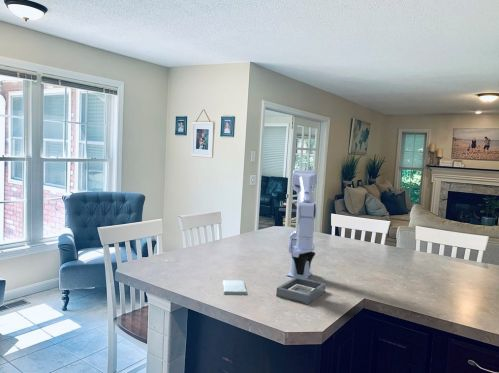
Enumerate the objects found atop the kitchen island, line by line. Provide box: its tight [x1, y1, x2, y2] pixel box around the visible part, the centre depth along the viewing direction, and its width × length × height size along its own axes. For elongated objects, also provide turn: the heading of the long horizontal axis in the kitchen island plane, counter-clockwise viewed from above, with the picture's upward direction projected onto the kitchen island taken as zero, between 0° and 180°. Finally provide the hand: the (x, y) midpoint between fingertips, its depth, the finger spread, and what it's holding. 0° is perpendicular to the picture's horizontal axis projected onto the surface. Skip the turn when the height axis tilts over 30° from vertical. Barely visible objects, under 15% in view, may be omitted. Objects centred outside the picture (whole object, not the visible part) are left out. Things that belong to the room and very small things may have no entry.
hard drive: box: [222, 279, 248, 295], centre depth 142 cm, size 2×8×12 cm
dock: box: [275, 277, 327, 305], centre depth 140 cm, size 16×12×3 cm
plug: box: [293, 261, 309, 280], centre depth 140 cm, size 4×4×7 cm
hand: (302, 272), depth 139 cm, fingers closed on plug, 4 cm apart
